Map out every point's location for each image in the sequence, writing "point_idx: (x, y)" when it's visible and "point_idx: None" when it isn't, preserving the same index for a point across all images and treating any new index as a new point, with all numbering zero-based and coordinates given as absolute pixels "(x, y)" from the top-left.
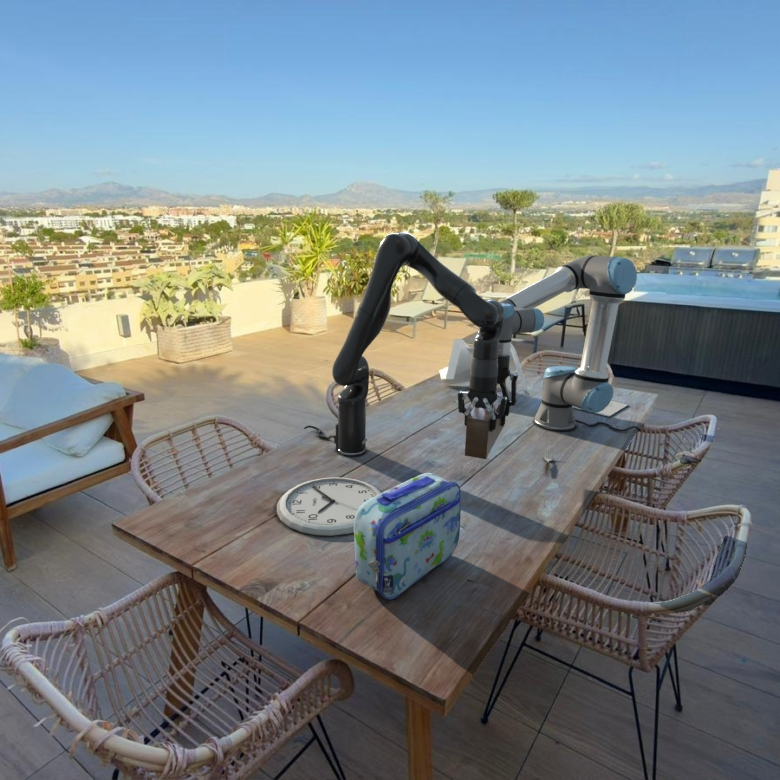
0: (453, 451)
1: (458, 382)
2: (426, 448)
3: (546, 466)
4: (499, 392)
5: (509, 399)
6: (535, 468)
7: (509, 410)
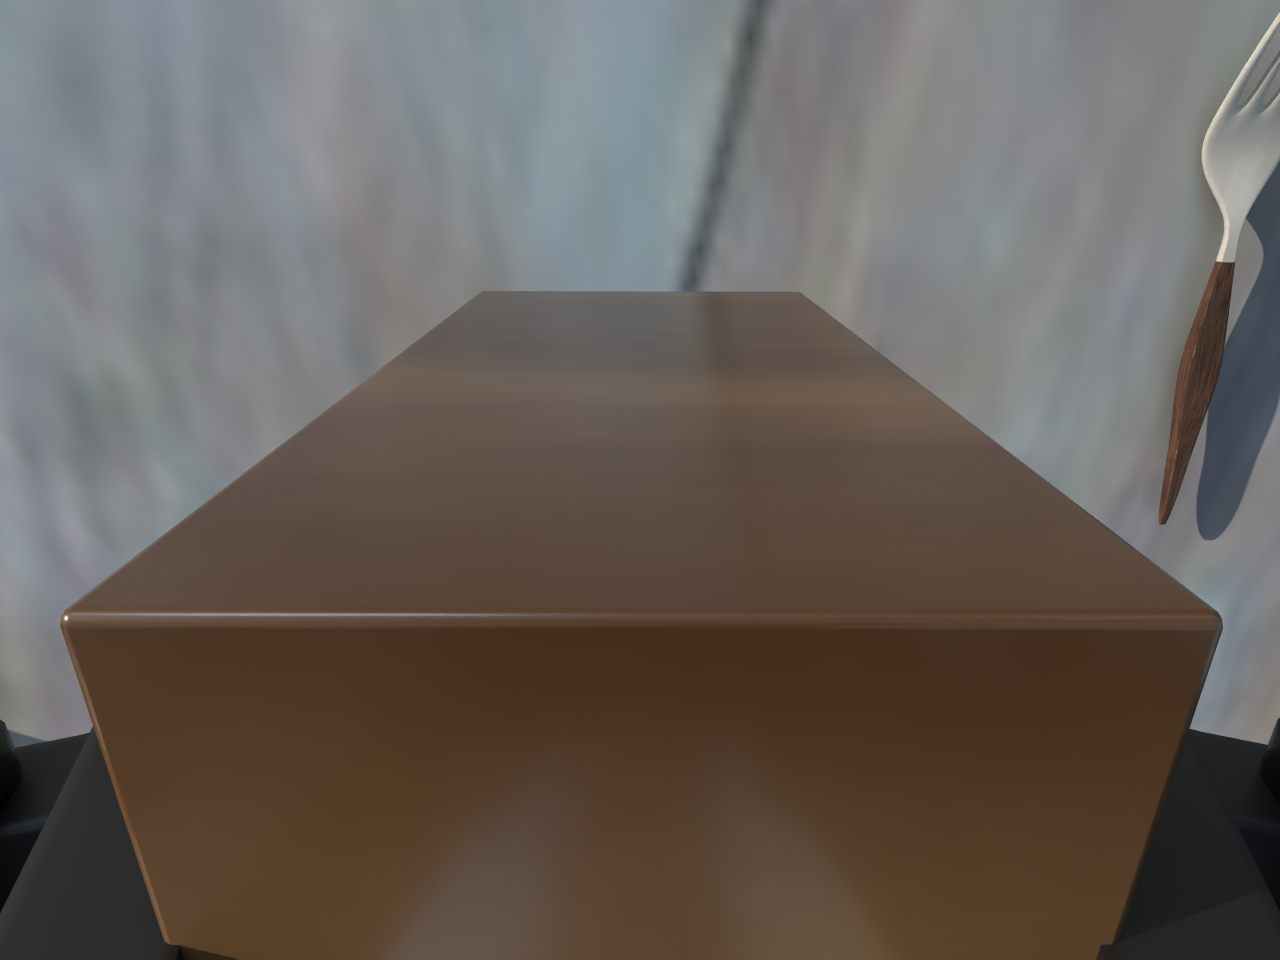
0: (266, 340)
1: None
2: (3, 379)
3: (1193, 390)
4: (810, 635)
5: (1227, 813)
6: (1075, 402)
7: None
